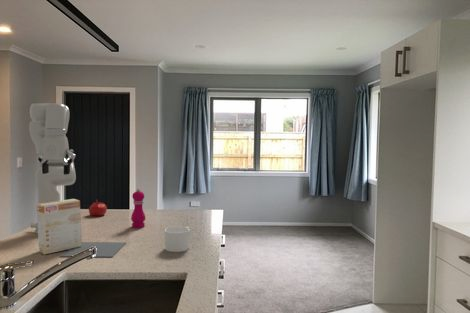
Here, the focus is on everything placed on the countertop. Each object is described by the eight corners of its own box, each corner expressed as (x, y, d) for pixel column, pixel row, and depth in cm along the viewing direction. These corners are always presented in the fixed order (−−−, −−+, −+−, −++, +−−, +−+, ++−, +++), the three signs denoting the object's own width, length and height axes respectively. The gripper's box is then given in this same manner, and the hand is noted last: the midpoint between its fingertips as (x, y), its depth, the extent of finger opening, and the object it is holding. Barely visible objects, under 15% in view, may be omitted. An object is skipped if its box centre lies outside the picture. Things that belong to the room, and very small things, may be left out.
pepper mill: (132, 228, 187) (132, 189, 186) (129, 225, 194) (129, 187, 193) (147, 227, 191) (147, 188, 190) (143, 224, 197) (143, 187, 196)
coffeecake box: (75, 243, 159) (73, 198, 158) (82, 246, 154) (80, 200, 153) (38, 251, 149) (35, 203, 148) (44, 255, 144) (41, 205, 143)
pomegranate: (103, 217, 212) (103, 201, 212) (85, 217, 213) (85, 201, 212) (109, 213, 222) (109, 198, 222) (92, 213, 222) (92, 198, 222)
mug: (178, 254, 148) (178, 234, 148) (159, 249, 154) (159, 230, 153) (199, 246, 160) (199, 227, 159) (180, 242, 165) (180, 224, 165)
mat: (60, 257, 142) (60, 256, 142) (79, 242, 161) (79, 242, 161) (112, 257, 143) (112, 256, 143) (126, 243, 162) (126, 242, 162)
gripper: (30, 132, 153) (31, 174, 153) (69, 133, 150) (69, 175, 151) (42, 133, 160) (43, 172, 161) (79, 133, 158) (80, 173, 158)
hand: (56, 173), depth 156 cm, fingers open, 9 cm apart
